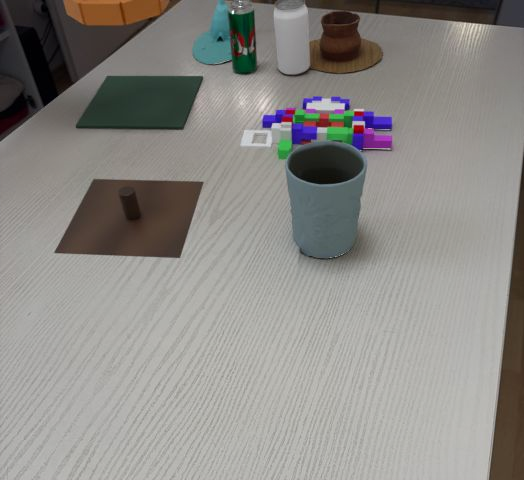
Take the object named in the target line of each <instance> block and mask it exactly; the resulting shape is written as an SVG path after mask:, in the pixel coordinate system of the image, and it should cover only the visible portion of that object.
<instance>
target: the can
mask: <svg viewBox="0 0 524 480" xmlns="http://www.w3.org/2000/svg"><path fill="white" fill-rule="evenodd" d="M308 10H309V9H308V6H307V5H306V0H276V1H275V2H274V10H273V27H274V37H275V38H274V39H275V48H276V57H277V59H276V60H277V67H278V70H279V71H280V72H281V73H282V74H283V75H285V76H298V75H301V74H304V73H306V72H307V71H308V70H309V69H310V68H309V67H310V47H309V42H310V31H309V30H310V29H309V27H310V25H309V11H308Z"/></svg>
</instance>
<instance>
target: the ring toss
mask: <svg viewBox="0 0 524 480" xmlns="http://www.w3.org/2000/svg"><path fill="white" fill-rule="evenodd" d="M204 182H205V181H197V180H156V179H155V180H153V179H150V180H149V179H115V178H114V179H109V178H107V179H106V178H93V179H92V181H91V183H90V185H89V187H88V189H86V192H85V193H84V196H83V198H82V199H81V201H80V204H79V205H78V207H77V209H76V211H75V212H74V214H73V216H72V218H71V220H70V222H69V224H68V226H67V227H66V229H65V231H64V233H63V236H62V237H61V239H60V241H59V242H58V245H57V246H56V247H55V249H54V254H62V255H63V254H64V255H65V254H66V255H89V256H92V255H93V256H116V257H117V256H118V257H141V258H164V259H165V258H166V259H167V258H168V259H180V258H181V256H182V253H183V250H184V247H185V243H186V240H187V237H188V233H189V230H190V227H191V223H192V221H193V218H194V214H195V211H196V208H197V204H198V202H199V199H200V196H201V192H202V190H203V185H204Z"/></svg>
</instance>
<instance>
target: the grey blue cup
mask: <svg viewBox="0 0 524 480" xmlns="http://www.w3.org/2000/svg"><path fill="white" fill-rule="evenodd" d="M284 169H285V176H286V177H285V178H286V185H287V192H288V196H289V197H288V198H289V205H290V214H291V217H292V218H291V230H292V237H293V241H294V243H295V245H296V246H297V247H298V248H299V250H298V251H299V252H300V251H301V252H300V253H302V254H303V253H304V254H303V255H305V254H306V255H305V256H307V255H308V256H313V257H318V258H330V257H335V256H339V255H341V254H343V253H345V252H347V251H348V250H349V249H350V248H351V247H352V246H353V247H354V245H355V243H356V238H357V232H358V227H359V226H358V225H359V219H360V214H361V213H360V212H361V207H362V204H361V198H362V197H363V191H364V185H365V182H366V177H367V176H366V175H367V169H368V159H367V157H366V155H365V154H364V153H363V151H362V152H361V151H360V150H358V149H357V148H355V147H354V146H352V145H349V144H346V143H341V142H336V141H319V142H313V143H308V144H302V145H300V146H298V147H297V148H295V149H293V150H291V153H290V154H289V155H288V157H287V159H285V163H284ZM354 242H355V243H354ZM353 244H354V245H353ZM353 247H352V248H353ZM352 248H351V249H352ZM348 252H349V251H348ZM348 252H347V253H348ZM308 256H307V257H308ZM313 257H312V258H313Z"/></svg>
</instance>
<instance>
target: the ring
mask: <svg viewBox="0 0 524 480" xmlns="http://www.w3.org/2000/svg"><path fill="white" fill-rule="evenodd" d="M170 1H171V0H62V2H63V6H64V9H65V12H66V15H67V16H68V17H71V18H72V19H73V20H75V21H77V22H79V23H80V24H82V25H86V26H124V25H127V26H128V25H132V24H135V23H138V22H140V21H144V20H147V19H150V18H153V17H156V16H160V15H161V14H163V13H164V12H165V10H166V8H167V7H168V5H169V3H170Z"/></svg>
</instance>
